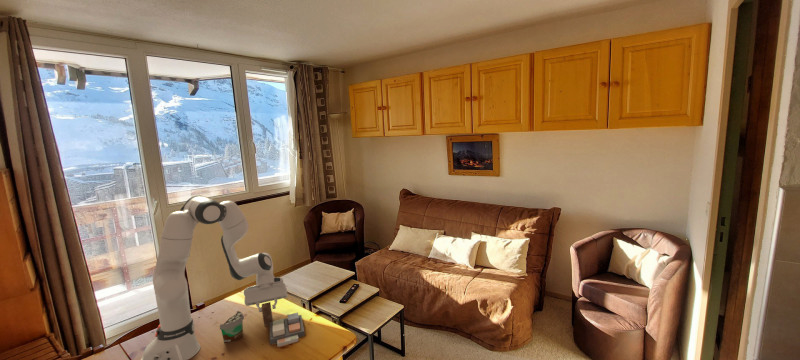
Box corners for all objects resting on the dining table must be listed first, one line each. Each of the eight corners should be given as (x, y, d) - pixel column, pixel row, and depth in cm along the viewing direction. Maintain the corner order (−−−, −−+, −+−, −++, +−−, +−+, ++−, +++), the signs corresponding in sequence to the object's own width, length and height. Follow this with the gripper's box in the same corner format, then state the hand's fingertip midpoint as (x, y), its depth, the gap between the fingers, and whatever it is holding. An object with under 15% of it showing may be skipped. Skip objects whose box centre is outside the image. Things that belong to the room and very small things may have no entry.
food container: (233, 346, 146) (231, 326, 145) (222, 345, 147) (219, 325, 146) (251, 330, 158) (249, 311, 157) (240, 329, 159) (237, 310, 158)
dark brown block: (264, 326, 161) (261, 307, 159) (264, 322, 164) (261, 304, 163) (272, 324, 162) (270, 305, 161) (272, 320, 166) (270, 302, 164)
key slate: (288, 324, 157) (288, 320, 156) (288, 319, 161) (287, 314, 161) (299, 322, 158) (298, 317, 158) (298, 316, 163) (297, 312, 163)
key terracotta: (289, 335, 150) (289, 330, 150) (289, 330, 155) (288, 325, 155) (300, 332, 152) (300, 328, 152) (299, 327, 157) (299, 322, 156)
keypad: (270, 348, 143) (269, 343, 143) (270, 327, 160) (269, 322, 159) (305, 339, 149) (304, 334, 148) (301, 319, 165) (301, 314, 165)
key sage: (273, 331, 154) (272, 326, 154) (273, 326, 159) (272, 321, 158) (284, 328, 156) (283, 324, 156) (284, 323, 161) (283, 318, 160)
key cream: (273, 337, 148) (272, 332, 147) (273, 331, 152) (272, 326, 152) (284, 334, 149) (284, 329, 149) (284, 328, 154) (283, 323, 154)
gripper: (242, 285, 163) (243, 313, 155) (285, 277, 170) (288, 303, 163) (244, 290, 168) (245, 317, 160) (286, 281, 175) (288, 307, 168)
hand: (267, 310), depth 162 cm, fingers open, 5 cm apart
